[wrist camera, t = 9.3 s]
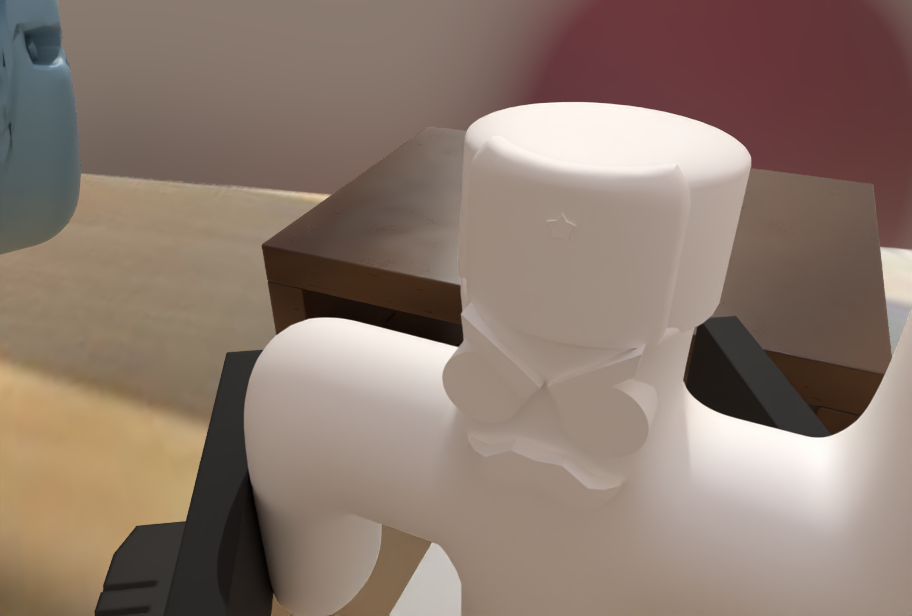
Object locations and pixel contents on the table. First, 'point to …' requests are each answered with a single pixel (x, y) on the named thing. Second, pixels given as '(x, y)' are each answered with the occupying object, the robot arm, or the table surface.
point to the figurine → (574, 411)
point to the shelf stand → (744, 295)
